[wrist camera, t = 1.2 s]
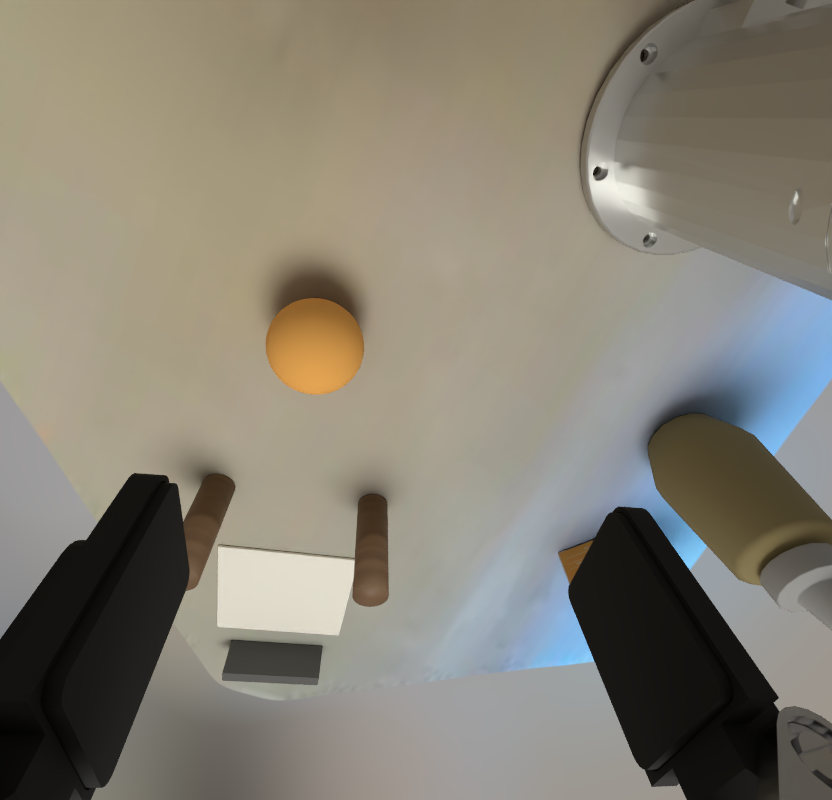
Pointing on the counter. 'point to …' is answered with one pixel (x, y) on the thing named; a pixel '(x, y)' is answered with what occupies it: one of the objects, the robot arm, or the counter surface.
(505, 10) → the counter surface
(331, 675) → the counter surface
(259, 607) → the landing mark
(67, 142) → the counter surface
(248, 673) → the stopper wall
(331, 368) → the ball
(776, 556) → the squeeze bottle
